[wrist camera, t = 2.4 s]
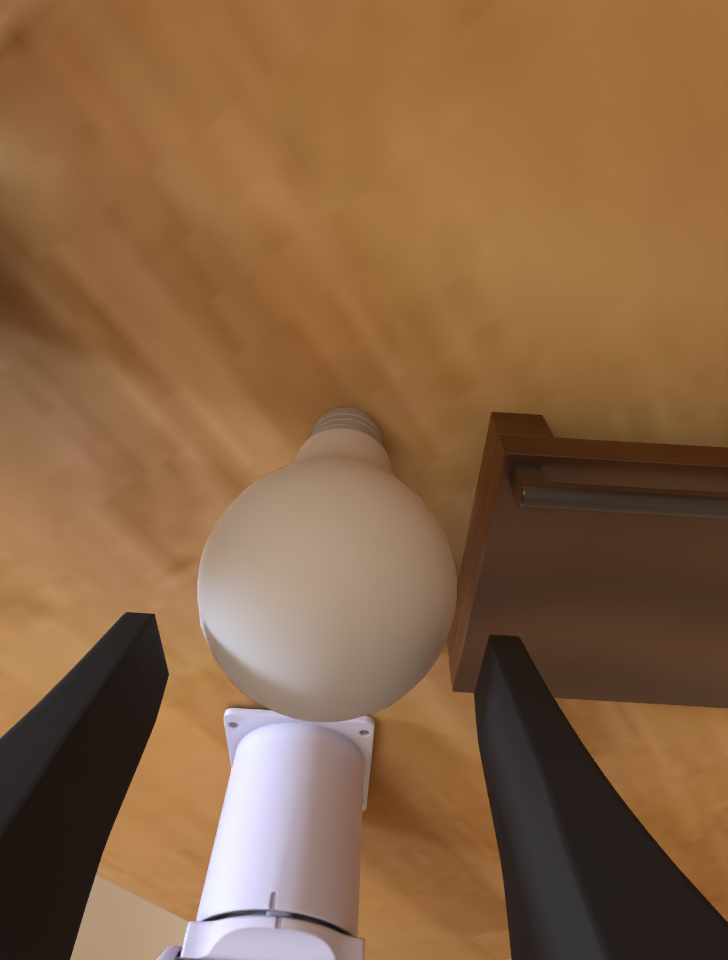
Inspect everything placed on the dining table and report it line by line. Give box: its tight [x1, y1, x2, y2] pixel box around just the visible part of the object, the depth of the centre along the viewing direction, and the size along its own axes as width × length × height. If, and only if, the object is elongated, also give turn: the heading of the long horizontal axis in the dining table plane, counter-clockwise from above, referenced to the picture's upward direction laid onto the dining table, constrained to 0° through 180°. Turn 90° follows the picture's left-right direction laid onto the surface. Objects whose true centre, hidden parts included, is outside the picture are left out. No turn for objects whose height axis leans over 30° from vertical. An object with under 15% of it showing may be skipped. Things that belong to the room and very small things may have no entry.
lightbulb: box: [197, 407, 457, 723], centre depth 15 cm, size 6×6×11 cm
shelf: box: [447, 412, 728, 708], centre depth 21 cm, size 12×15×4 cm
